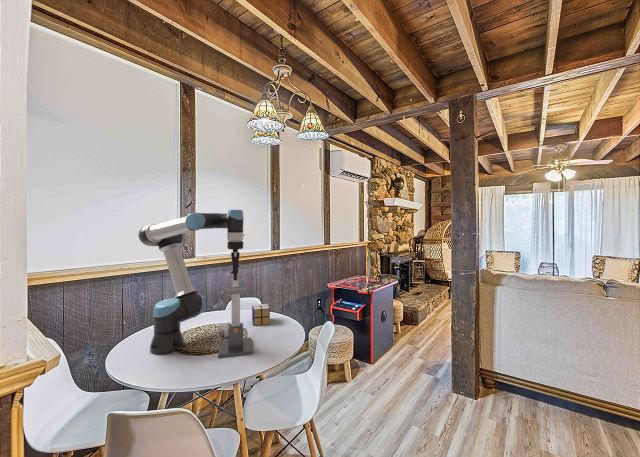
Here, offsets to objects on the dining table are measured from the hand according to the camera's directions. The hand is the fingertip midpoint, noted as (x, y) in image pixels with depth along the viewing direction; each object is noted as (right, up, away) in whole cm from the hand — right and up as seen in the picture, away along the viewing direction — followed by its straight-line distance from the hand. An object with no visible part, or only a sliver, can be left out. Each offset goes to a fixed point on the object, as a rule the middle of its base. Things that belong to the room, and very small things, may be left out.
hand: (235, 283), depth 142 cm
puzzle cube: (+5, -32, +37) cm, 49 cm away
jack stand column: (0, -25, +1) cm, 25 cm away
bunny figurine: (-11, -32, +19) cm, 39 cm away
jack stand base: (0, -33, +1) cm, 33 cm away
